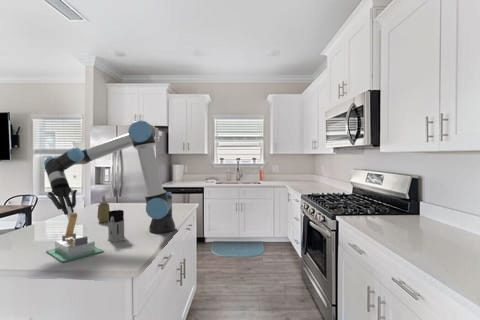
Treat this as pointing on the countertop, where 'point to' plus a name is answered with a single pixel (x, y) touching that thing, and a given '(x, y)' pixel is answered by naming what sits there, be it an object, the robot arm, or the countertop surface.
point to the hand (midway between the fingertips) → (71, 219)
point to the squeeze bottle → (103, 210)
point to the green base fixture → (73, 248)
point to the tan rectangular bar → (71, 225)
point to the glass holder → (116, 225)
